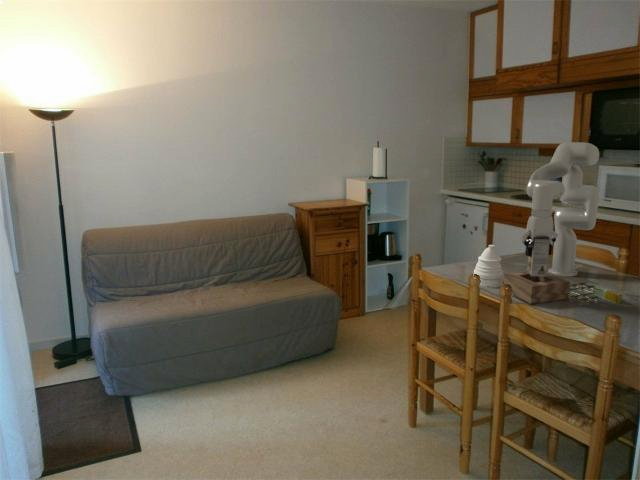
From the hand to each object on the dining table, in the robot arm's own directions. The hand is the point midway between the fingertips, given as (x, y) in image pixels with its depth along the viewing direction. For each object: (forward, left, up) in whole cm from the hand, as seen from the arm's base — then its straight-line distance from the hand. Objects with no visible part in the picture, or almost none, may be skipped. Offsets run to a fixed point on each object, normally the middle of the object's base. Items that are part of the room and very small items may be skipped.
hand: (538, 254), depth 211 cm
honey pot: (+8, -22, -18) cm, 30 cm away
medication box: (-25, +12, -18) cm, 33 cm away
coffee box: (0, 0, -8) cm, 8 cm away
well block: (0, 0, -18) cm, 18 cm away
